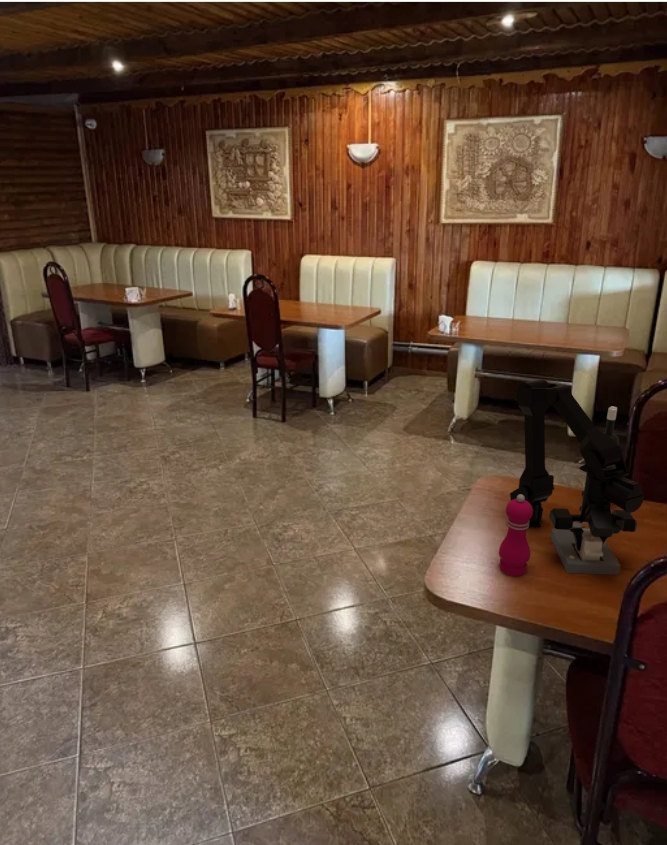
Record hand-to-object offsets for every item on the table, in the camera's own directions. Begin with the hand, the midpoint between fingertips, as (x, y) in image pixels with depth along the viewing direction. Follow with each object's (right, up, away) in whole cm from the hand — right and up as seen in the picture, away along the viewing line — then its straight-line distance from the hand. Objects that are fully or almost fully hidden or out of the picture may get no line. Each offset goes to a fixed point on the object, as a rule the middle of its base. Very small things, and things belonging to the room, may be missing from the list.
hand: (587, 550), depth 153 cm
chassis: (0, -2, +3) cm, 4 cm away
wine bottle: (+13, +7, +27) cm, 31 cm away
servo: (0, -1, 0) cm, 1 cm away
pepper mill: (-19, -4, -2) cm, 19 cm away
